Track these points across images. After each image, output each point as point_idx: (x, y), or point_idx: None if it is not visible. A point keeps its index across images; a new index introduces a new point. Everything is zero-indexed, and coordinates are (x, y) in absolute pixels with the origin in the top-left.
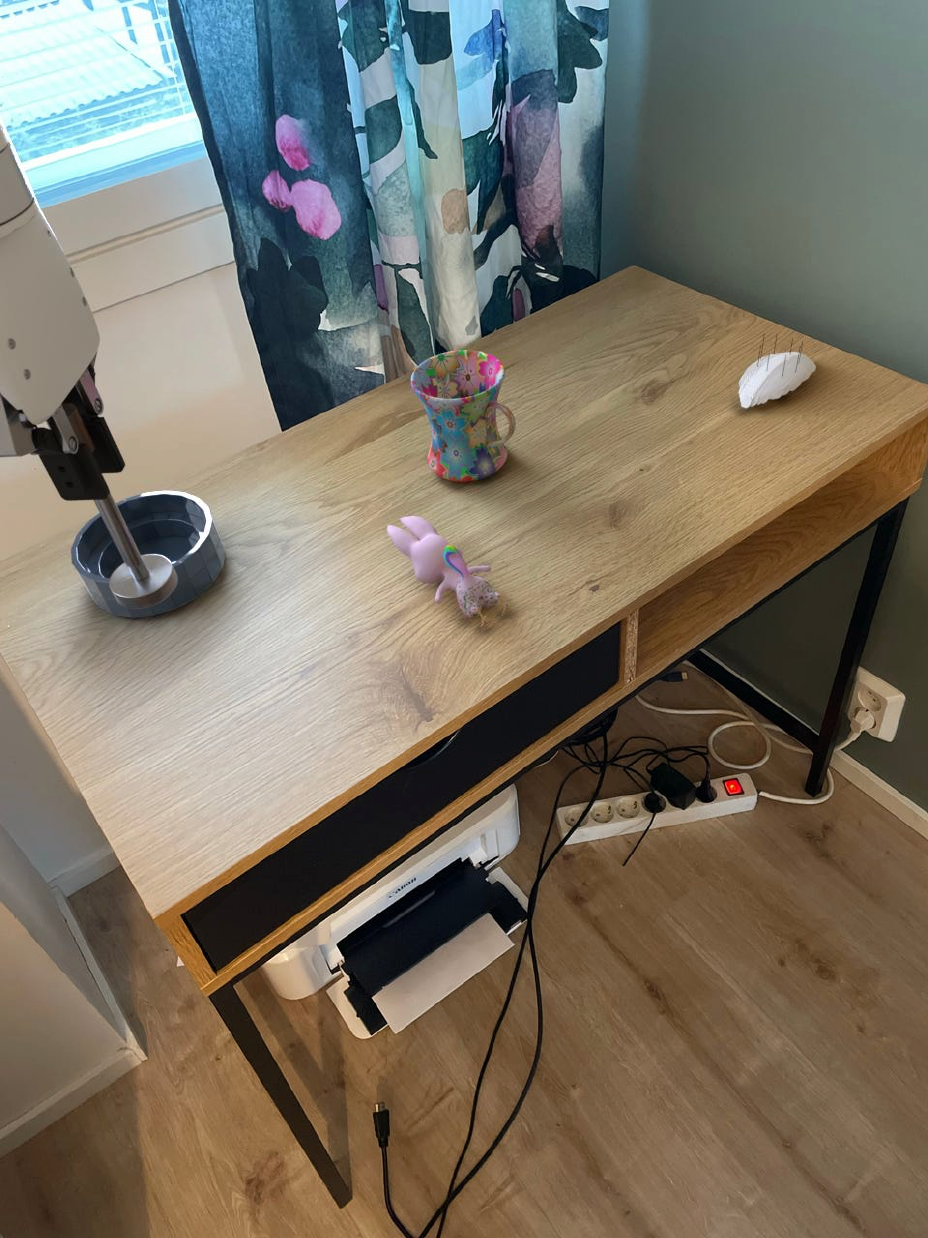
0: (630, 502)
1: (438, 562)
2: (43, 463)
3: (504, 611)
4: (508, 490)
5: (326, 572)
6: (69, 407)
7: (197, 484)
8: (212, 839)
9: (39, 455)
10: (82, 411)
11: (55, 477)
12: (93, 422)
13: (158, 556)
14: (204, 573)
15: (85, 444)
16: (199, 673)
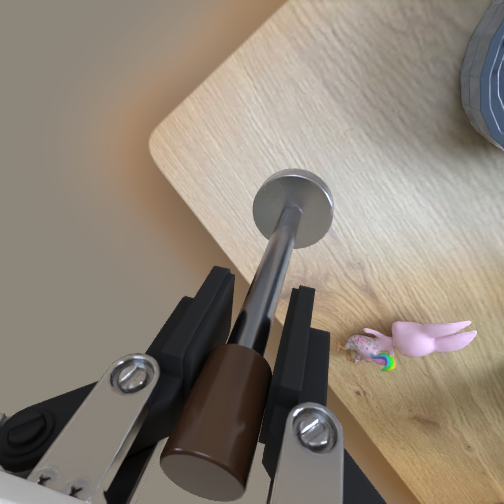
0: (435, 431)
1: (395, 345)
2: (181, 321)
3: (347, 355)
4: (496, 385)
5: (455, 251)
6: (216, 494)
7: None
8: (188, 171)
9: (168, 340)
10: (266, 466)
11: (167, 322)
12: (265, 442)
13: (323, 231)
14: (493, 143)
15: None
16: (352, 140)
